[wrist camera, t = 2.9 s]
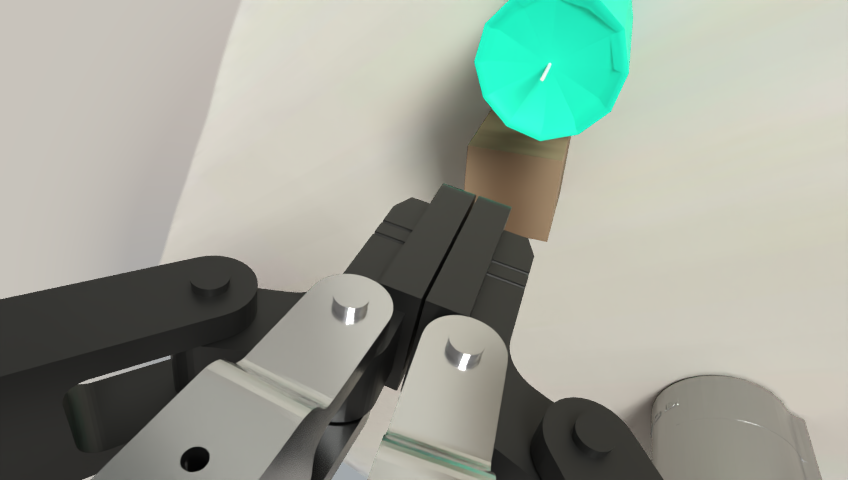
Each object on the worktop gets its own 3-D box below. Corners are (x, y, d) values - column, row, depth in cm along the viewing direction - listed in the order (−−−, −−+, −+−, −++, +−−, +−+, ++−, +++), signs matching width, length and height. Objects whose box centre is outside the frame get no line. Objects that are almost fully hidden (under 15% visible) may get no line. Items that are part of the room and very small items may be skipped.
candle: (622, 74, 30) (613, 163, 21) (515, 67, 32) (462, 146, 23) (644, -47, 27) (644, -6, 18) (524, -48, 29) (465, -12, 19)
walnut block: (573, 120, 33) (562, 161, 28) (559, 193, 36) (546, 241, 31) (492, 108, 34) (467, 145, 29) (484, 179, 37) (461, 224, 32)
